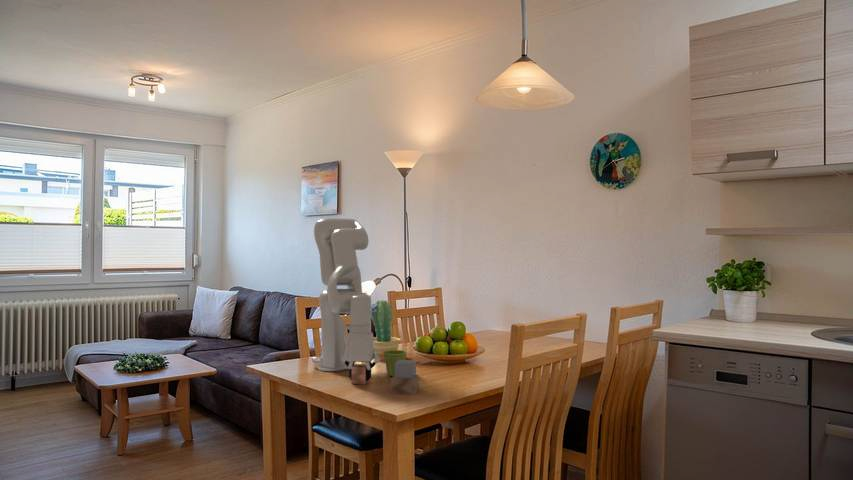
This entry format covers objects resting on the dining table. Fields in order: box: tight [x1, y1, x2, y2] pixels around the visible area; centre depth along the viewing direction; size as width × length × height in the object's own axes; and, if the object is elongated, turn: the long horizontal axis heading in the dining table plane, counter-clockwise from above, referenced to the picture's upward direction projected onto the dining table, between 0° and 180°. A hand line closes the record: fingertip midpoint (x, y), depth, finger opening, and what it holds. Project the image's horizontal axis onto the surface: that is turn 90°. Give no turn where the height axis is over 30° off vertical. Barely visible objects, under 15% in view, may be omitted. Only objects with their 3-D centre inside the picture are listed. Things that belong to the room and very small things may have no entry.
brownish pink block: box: [350, 363, 369, 385], centre depth 210 cm, size 5×5×6 cm
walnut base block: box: [390, 374, 420, 396], centre depth 198 cm, size 8×8×5 cm
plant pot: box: [383, 349, 408, 377], centre depth 222 cm, size 9×9×9 cm
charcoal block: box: [395, 359, 417, 379], centre depth 198 cm, size 6×6×5 cm
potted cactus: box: [371, 300, 402, 361], centre depth 256 cm, size 15×15×25 cm
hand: (360, 379), depth 210 cm, fingers closed on brownish pink block, 4 cm apart
